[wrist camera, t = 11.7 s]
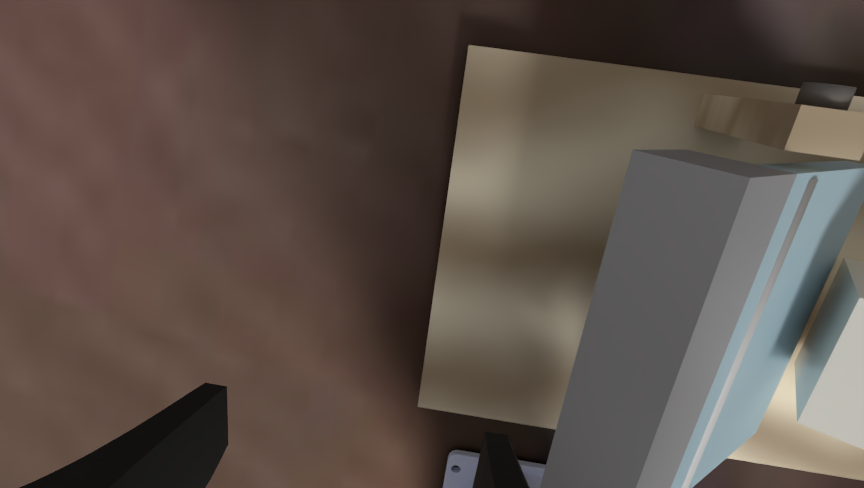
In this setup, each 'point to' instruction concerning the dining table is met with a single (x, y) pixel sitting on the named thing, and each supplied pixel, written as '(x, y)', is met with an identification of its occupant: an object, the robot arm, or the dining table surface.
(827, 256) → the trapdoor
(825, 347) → the limestone block
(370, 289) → the dining table surface
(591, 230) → the beige slab
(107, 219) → the dining table surface
